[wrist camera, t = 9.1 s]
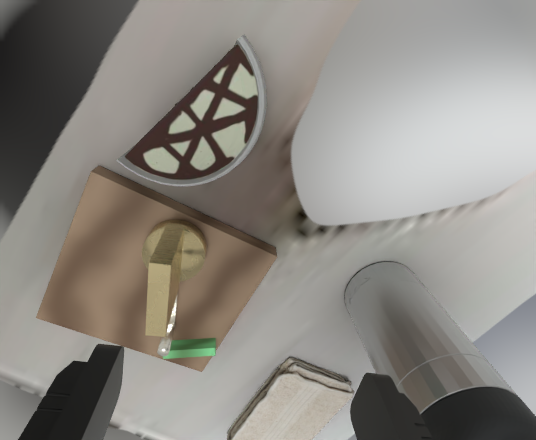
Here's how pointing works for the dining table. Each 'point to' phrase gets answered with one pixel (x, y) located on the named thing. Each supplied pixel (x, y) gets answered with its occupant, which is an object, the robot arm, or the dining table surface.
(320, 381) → the washcloth
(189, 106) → the food container
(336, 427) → the dining table surface
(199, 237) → the tan bar with dome
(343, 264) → the dining table surface
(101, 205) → the dial board
